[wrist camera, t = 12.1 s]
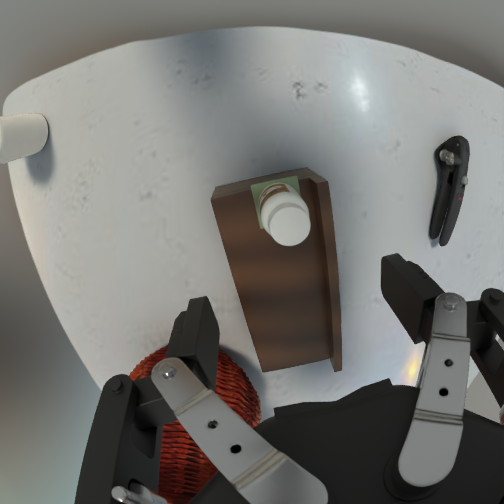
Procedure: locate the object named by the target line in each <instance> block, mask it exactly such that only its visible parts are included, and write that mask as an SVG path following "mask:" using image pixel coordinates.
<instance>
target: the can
mask: <svg viewBox="0 0 504 504" xmlns="http://www.w3.org/2000/svg"><path fill="white" fill-rule="evenodd" d="M47 137H48V125H47V122H46V119H45V118H44V117H43V116H42V115H41V114H37V113H35V114H21V115H11V116H3V117H0V164H3V163H7V162H10V161H13V160H16V159H20V158H23V157H26V156H30V155H33V154H36V153H38V152H39V151H41V150H42V148H43V147H44V145H45V143H46V141H47Z"/></svg>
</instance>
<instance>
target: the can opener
mask: <svg viewBox="0 0 504 504" xmlns="http://www.w3.org/2000/svg"><path fill="white" fill-rule="evenodd" d="M469 155H470V150H469V143H468V141H467V139H465V138H464V137H462V136H454V137H451V138H449V139H448V140H447V141H445V142H444V143H443V144H441V145H440V146H439V148H438V149H437V153H436V157H437V160H438V163H439V165H440V168H441V174H442V182H441V188H440V192H439V196H438V200H437V203H436V207H435V211H434V215H433V219H432V224H431V231H430V237H431V238H432V239H436V238H437V237H438V236H439V234H440V231H441V228H442V225H443V222H444V225H443V229H442V232H441V236H440V239H439V244H440V246H445V245H446V244H447V243H448V241H449V239H450V237H451V234H452V232H453V229H454V227H455V224H456V221H457V218H458V214H459V211H460V207H461V204H462V200H463V195H464V190H465V185H467V184H468V178H467V171H468V162H469ZM446 211H447V213H446ZM445 215H446V217H445ZM444 219H445V221H444Z"/></svg>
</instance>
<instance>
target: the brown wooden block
mask: <svg viewBox="0 0 504 504" xmlns="http://www.w3.org/2000/svg"><path fill="white" fill-rule="evenodd" d="M273 183H285V184H288V185H290V186H292V187H293V188H294V189H295V190H296V191H297V193H298V194H299V195H300V197H301V198H302V199H303V201H304V202H305V204H306V205H307V207H308V211H309V219H310V225H311V226H310V231H309V234H308V236H307V237H306V238H305V240H303V241H302V242H301V243H299V244H297V245H294V246H285V245H281V244H279V243H278V242H276V241H275V240H274V239H273V237H272V236H271V235H270V234H269V233H268V232H267V231H266V230H265V229H264V227H263V225H262V221H261V216H260V210H259V197H260V195H261V193H262V191H263V190H264V189H265V188H266V187H267V186H269V185H271V184H273ZM211 203H212V207H213V210H214V214H215V217H216V221H217V224H218V228H219V231H220V235H221V238H222V242H223V245H224V249H225V252H226V255H227V259H228V262H229V266H230V269H231V272H232V276H233V279H234V282H235V286H236V289H237V292H238V296H239V299H240V302H241V305H242V309H243V312H244V315H245V318H246V322H247V325H248V328H249V331H250V334H251V338H252V341H253V344H254V347H255V350H256V353H257V356H258V359H259V363H260V366H261V369H262V372H269V371H274V370H280V369H285V368H290V367H295V366H299V365H304V364H308V363H313V362H317V361H321V360H325V359H329V358H330V360H331V363H332V366H333V369H334V372H337V371H341V370H342V335H341V308H340V291H339V276H338V263H337V252H336V242H335V232H334V223H333V215H332V207H331V199H330V192H329V185H328V181H327V180H325V179H324V178H322V177H321V176H319V175H318V174H317V173H315V172H314V171H312V170H311V169H309V168H308V167H306V168H301V169H296V170H291V171H285V172H281V173H276V174H271V175H266V176H261V177H257V178H252V179H248V180H243V181H239V182H235V183H231V184H226V185H222V186H218V187H216V188H215V190H214V192H213V195H212V197H211Z"/></svg>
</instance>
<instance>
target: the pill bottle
mask: <svg viewBox="0 0 504 504" xmlns="http://www.w3.org/2000/svg"><path fill="white" fill-rule="evenodd" d="M259 210H260V216H261V221H262V225H263V227H264V229H265V230H266V231H267V232H268V233H269V234H270V235H271V236H272V237H273V239H274V240H275V241H276V242H278V243H279V244H281V245H285V246H294V245H297V244H299V243H301V242H302V241H303V240H305V238H306V237H307V236H308V234H309V231H310V226H311V225H310V219H309V211H308V207H307V205H306V204H305V202H304V201H303V199H302V198H301V197H300V195H299V194H298V193H297V191H296V190H295V189H294V188H293V187H292V186H290V185H288V184H285V183H273V184H271V185H269V186H267V187H266V188H265V189H264V190H263V191H262V193H261V195H260V197H259Z"/></svg>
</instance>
